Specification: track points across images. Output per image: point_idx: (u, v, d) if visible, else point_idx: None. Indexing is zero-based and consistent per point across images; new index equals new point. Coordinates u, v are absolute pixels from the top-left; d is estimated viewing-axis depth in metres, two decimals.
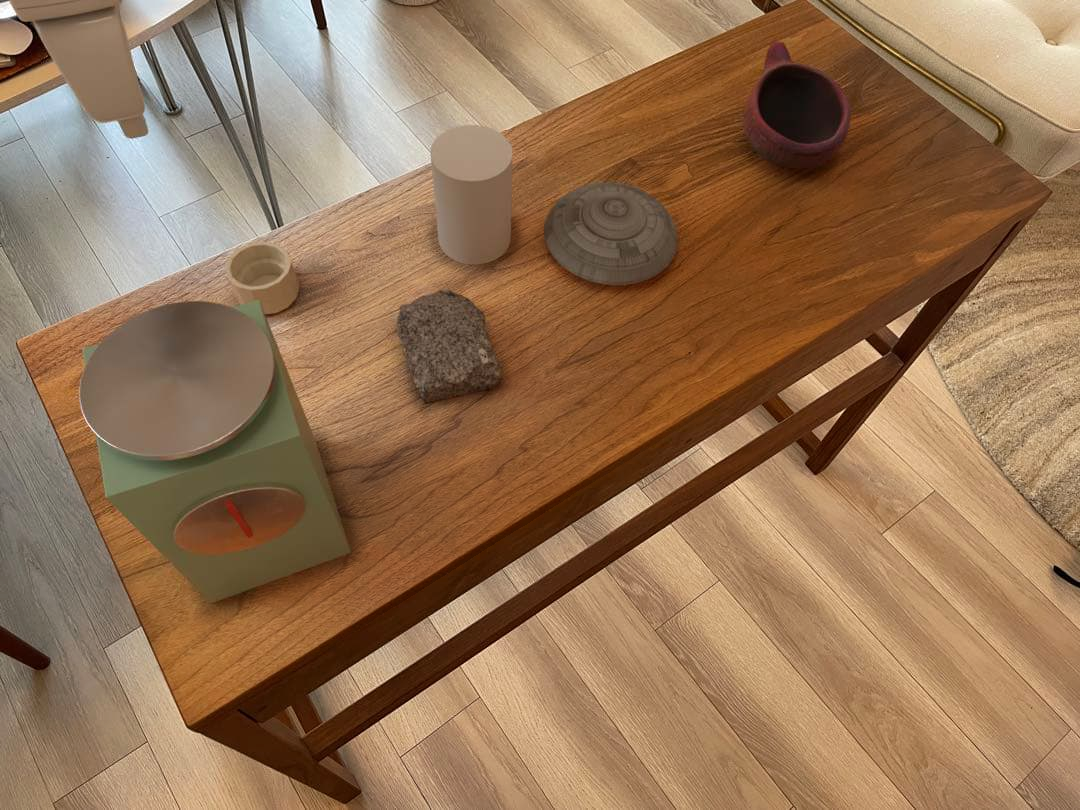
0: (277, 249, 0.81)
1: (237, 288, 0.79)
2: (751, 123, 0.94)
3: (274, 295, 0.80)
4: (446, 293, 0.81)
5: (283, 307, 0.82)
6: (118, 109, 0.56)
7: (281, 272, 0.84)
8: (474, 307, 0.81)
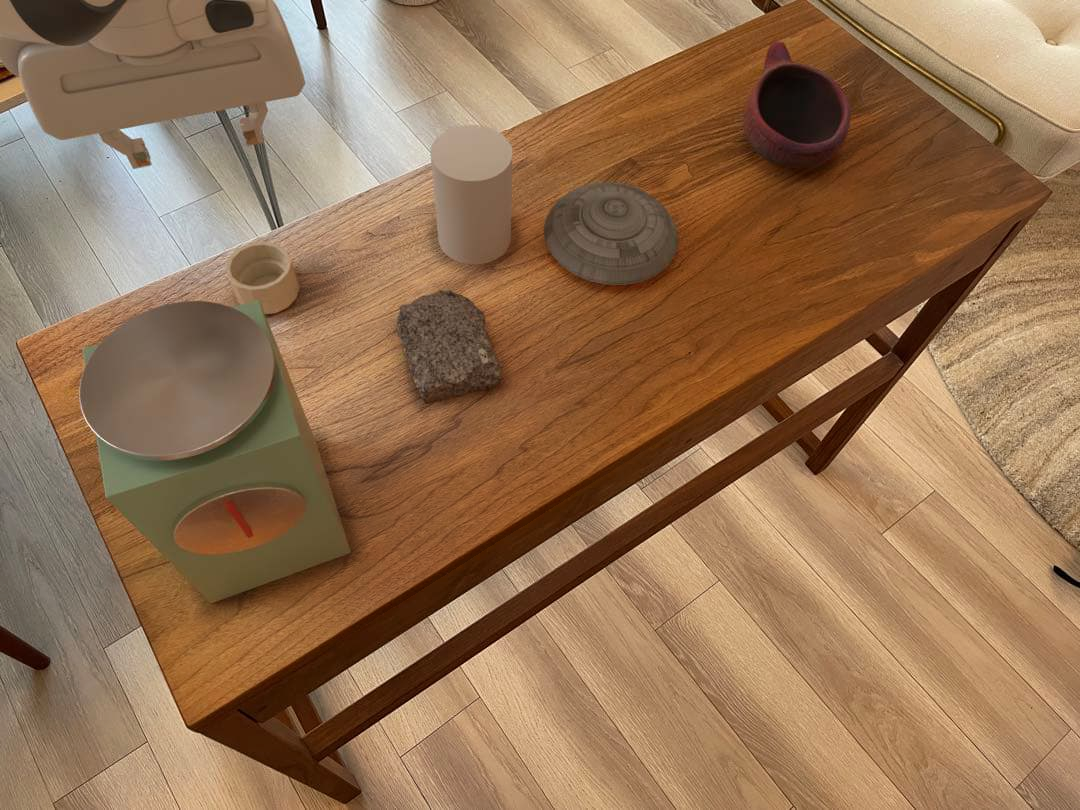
0: (277, 249, 0.81)
1: (237, 288, 0.79)
2: (751, 123, 0.94)
3: (274, 295, 0.80)
4: (446, 293, 0.81)
5: (283, 307, 0.82)
6: None
7: (281, 272, 0.84)
8: (474, 307, 0.81)
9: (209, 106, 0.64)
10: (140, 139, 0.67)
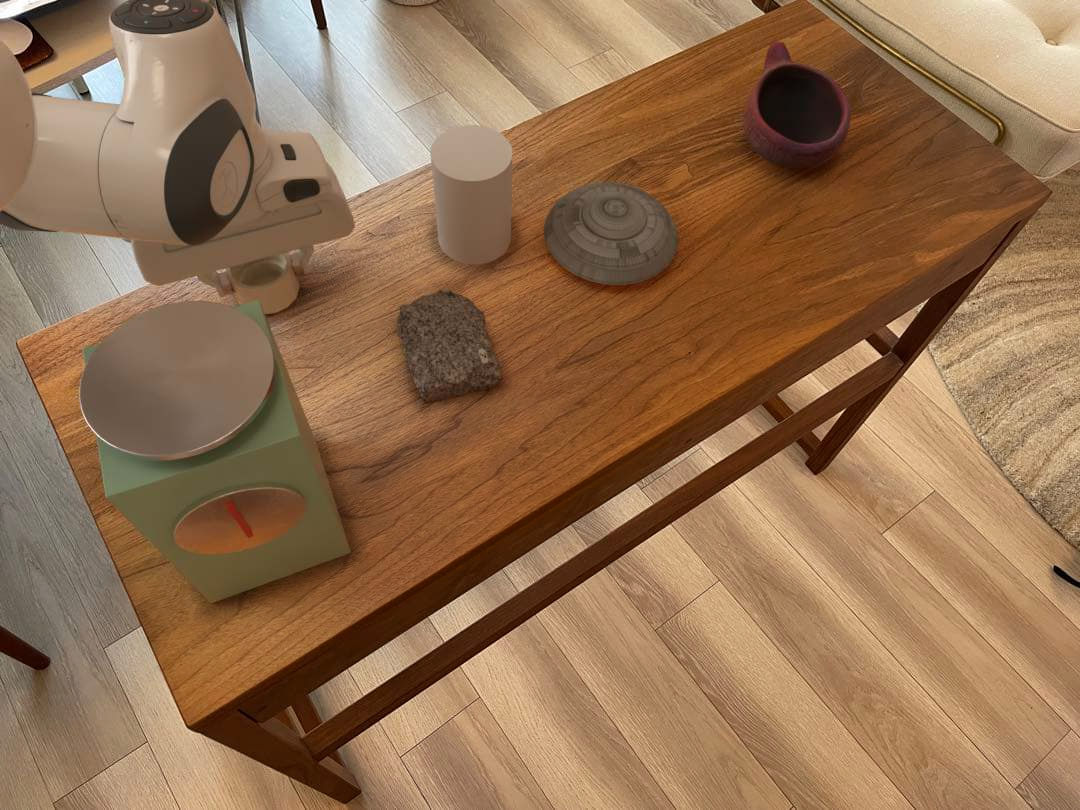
0: None
1: (237, 288, 0.79)
2: (751, 123, 0.94)
3: (274, 295, 0.80)
4: (446, 293, 0.81)
5: (283, 307, 0.82)
6: None
7: (281, 272, 0.84)
8: (474, 307, 0.81)
9: (278, 250, 0.77)
10: (225, 273, 0.80)
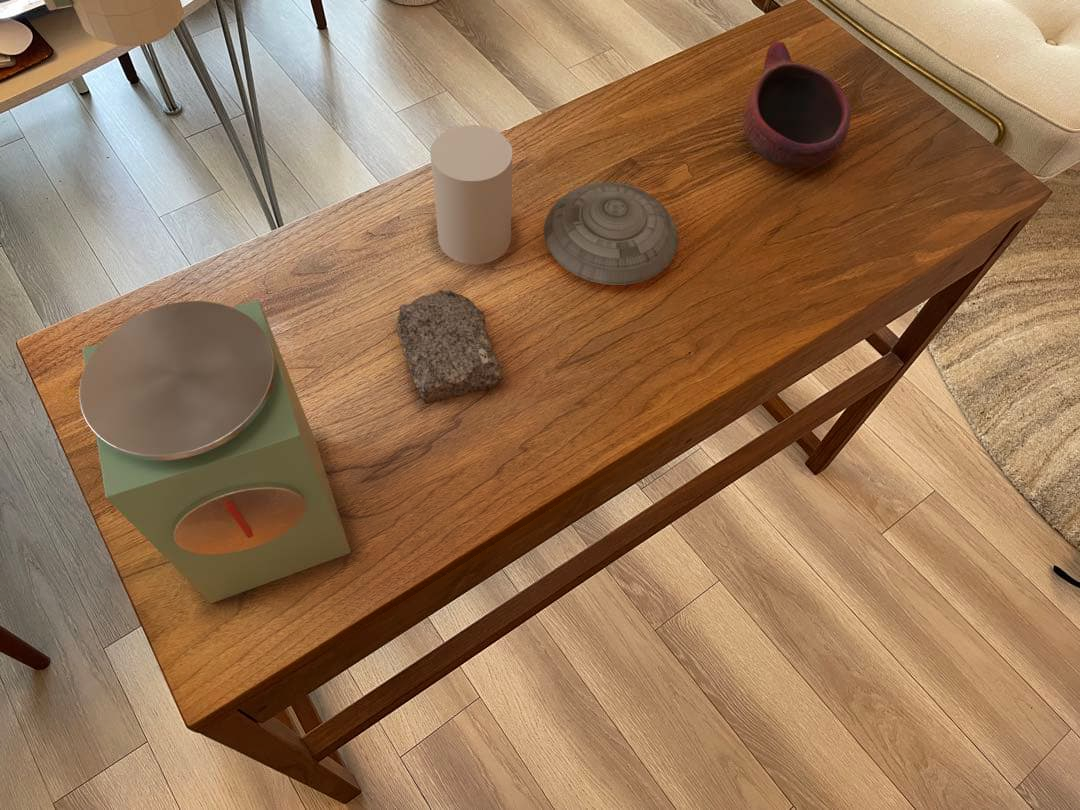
0: None
1: None
2: (751, 123, 0.94)
3: (136, 4, 0.49)
4: (446, 293, 0.81)
5: (155, 34, 0.52)
6: None
7: None
8: (474, 307, 0.81)
9: None
10: None
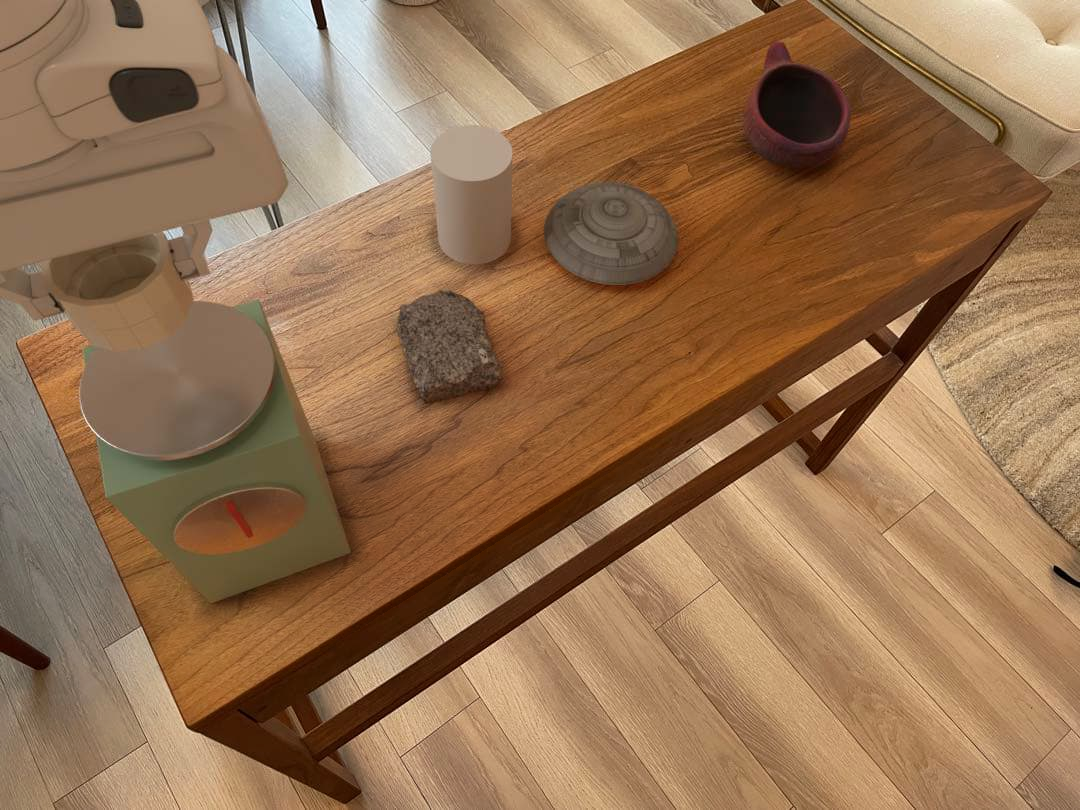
0: None
1: (61, 303, 0.41)
2: (751, 123, 0.94)
3: (136, 316, 0.42)
4: (446, 293, 0.81)
5: (159, 338, 0.44)
6: None
7: None
8: (474, 307, 0.81)
9: (133, 230, 0.39)
10: None
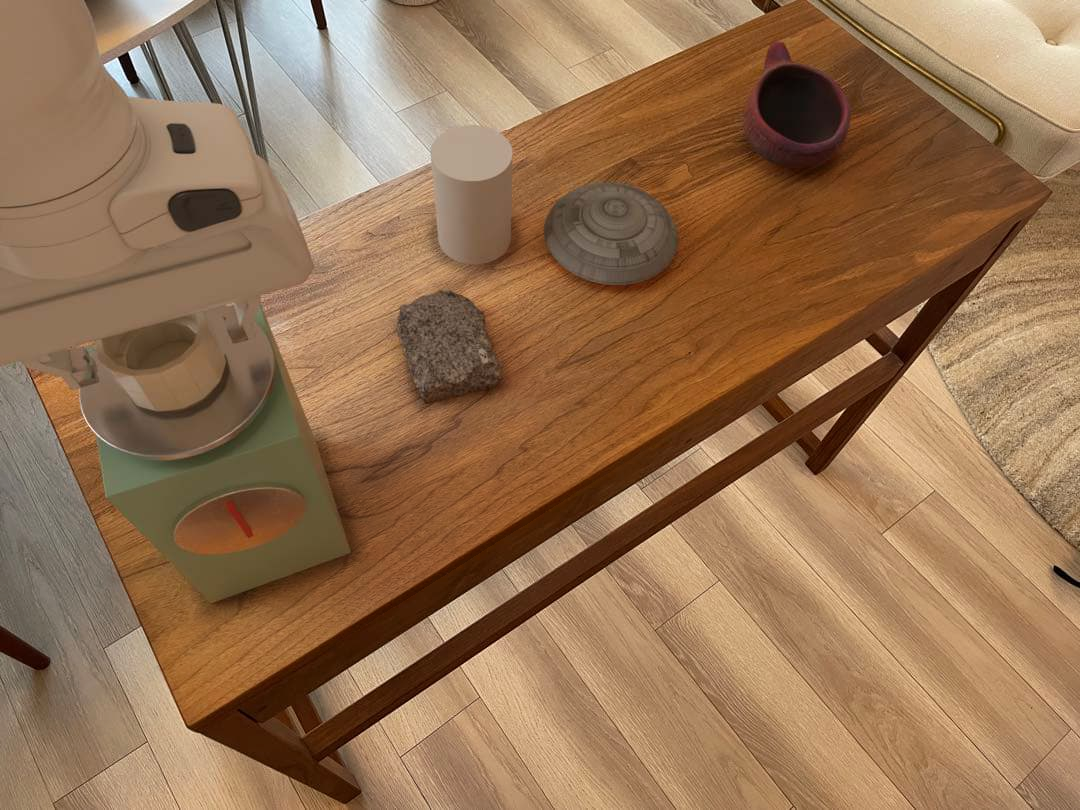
0: None
1: (112, 372, 0.46)
2: (751, 123, 0.94)
3: (177, 382, 0.47)
4: (446, 293, 0.81)
5: (196, 399, 0.49)
6: None
7: None
8: (474, 307, 0.81)
9: (179, 311, 0.44)
10: (81, 349, 0.47)
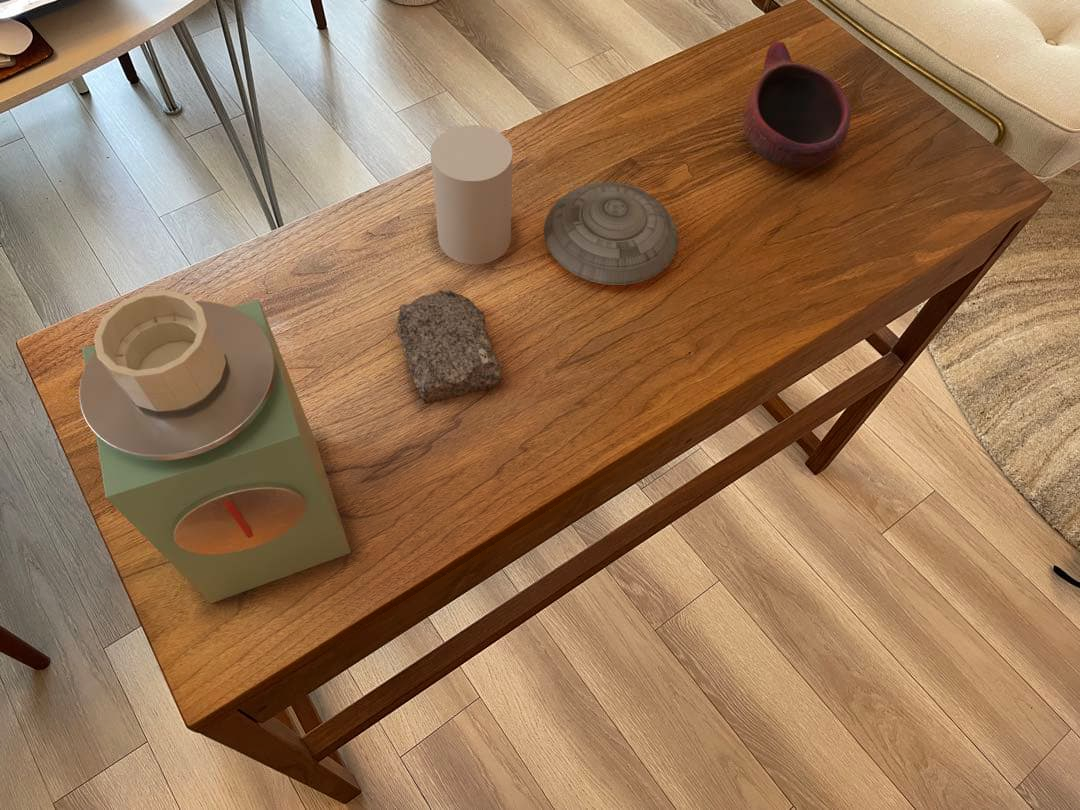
0: (185, 303, 0.49)
1: (112, 372, 0.46)
2: (751, 123, 0.94)
3: (177, 382, 0.47)
4: (446, 293, 0.81)
5: (196, 399, 0.49)
6: None
7: None
8: (474, 307, 0.81)
9: None
10: None
